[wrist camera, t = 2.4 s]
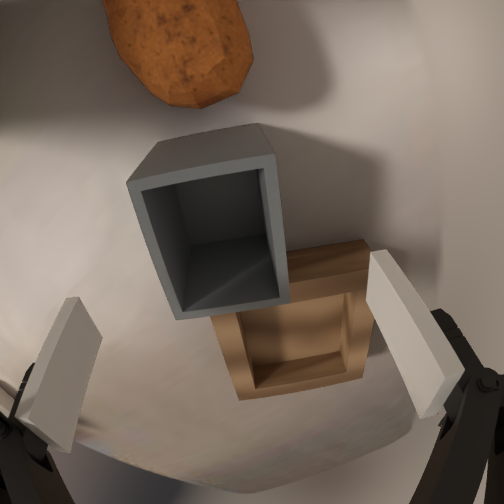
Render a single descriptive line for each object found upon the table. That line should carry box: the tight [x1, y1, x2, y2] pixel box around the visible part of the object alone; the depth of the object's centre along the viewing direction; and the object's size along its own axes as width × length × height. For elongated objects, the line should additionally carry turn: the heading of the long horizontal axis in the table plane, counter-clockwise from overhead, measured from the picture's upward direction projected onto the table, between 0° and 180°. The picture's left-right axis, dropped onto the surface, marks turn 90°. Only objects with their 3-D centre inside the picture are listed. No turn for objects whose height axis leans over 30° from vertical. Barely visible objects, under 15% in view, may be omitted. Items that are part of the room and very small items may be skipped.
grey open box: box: [126, 123, 291, 320], centre depth 20 cm, size 9×7×8 cm
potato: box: [102, 0, 254, 109], centre depth 13 cm, size 7×13×7 cm, turn 20°
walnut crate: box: [210, 239, 374, 401], centre depth 29 cm, size 15×14×4 cm
